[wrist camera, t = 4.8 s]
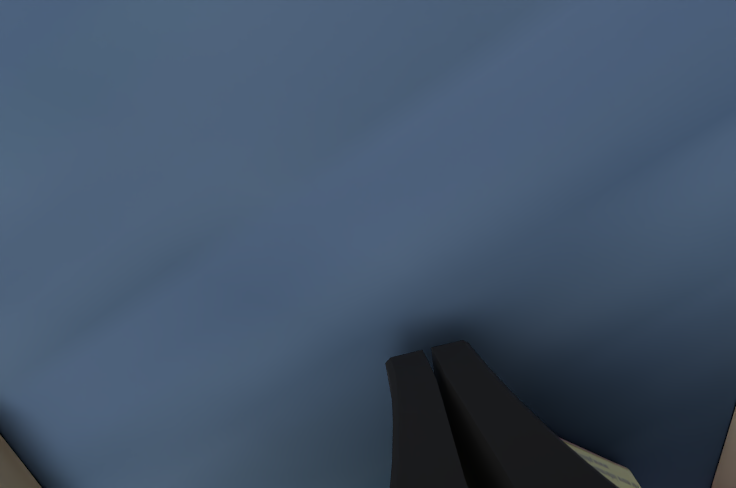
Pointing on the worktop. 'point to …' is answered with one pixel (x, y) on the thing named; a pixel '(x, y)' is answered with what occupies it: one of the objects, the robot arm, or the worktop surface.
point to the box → (607, 468)
